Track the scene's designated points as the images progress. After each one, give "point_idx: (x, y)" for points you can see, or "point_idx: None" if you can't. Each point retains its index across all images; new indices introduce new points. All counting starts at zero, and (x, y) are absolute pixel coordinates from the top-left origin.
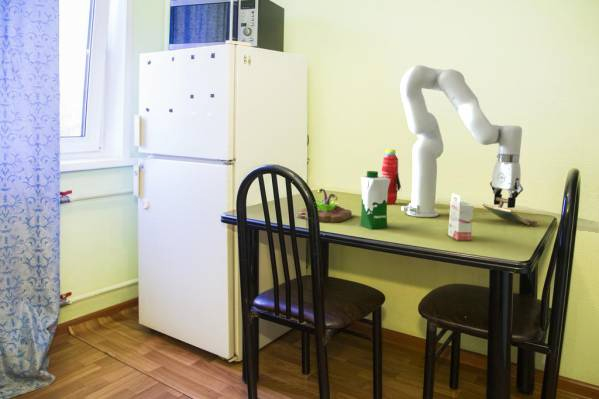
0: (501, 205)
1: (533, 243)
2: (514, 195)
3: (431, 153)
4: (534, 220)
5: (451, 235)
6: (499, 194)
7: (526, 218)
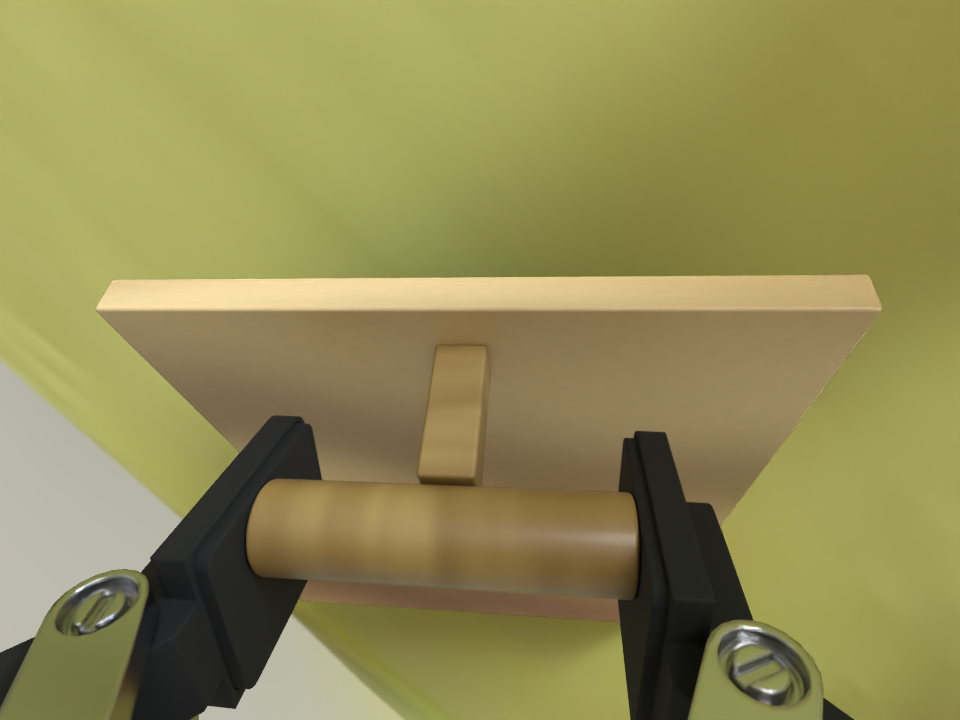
0: (429, 413)
1: None
2: (14, 652)
3: None
4: (327, 595)
5: None
6: (657, 700)
7: (432, 605)
